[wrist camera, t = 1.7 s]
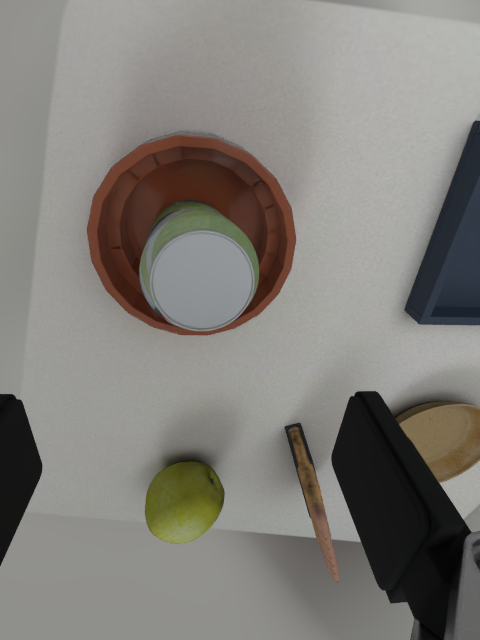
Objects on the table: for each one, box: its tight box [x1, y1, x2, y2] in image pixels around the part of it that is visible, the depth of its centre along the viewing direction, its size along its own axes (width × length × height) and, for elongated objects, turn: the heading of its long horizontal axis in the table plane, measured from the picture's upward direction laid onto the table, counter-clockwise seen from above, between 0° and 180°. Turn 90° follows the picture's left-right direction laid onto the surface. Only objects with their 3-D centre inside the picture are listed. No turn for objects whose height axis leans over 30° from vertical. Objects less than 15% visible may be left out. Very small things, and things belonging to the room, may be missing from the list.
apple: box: [145, 461, 224, 544], centre depth 38 cm, size 8×9×8 cm
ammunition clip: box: [285, 423, 339, 582], centre depth 37 cm, size 11×2×12 cm, turn 15°
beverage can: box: [139, 200, 259, 331], centre depth 21 cm, size 6×7×12 cm
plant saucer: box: [395, 402, 480, 483], centre depth 41 cm, size 15×15×3 cm
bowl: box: [87, 131, 296, 335], centre depth 24 cm, size 13×13×5 cm
